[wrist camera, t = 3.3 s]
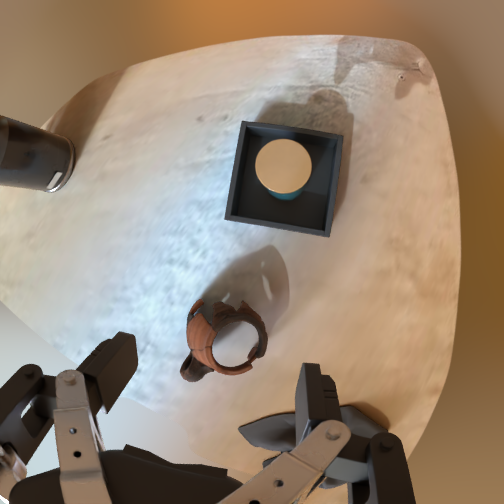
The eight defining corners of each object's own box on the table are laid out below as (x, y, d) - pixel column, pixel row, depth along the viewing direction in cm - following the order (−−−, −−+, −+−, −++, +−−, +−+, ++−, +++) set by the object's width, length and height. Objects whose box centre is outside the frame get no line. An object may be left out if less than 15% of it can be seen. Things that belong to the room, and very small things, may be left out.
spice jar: (256, 188, 34) (244, 174, 26) (278, 153, 33) (273, 129, 25) (293, 210, 34) (293, 203, 25) (315, 174, 33) (322, 156, 25)
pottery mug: (206, 274, 36) (227, 291, 29) (261, 311, 40) (291, 332, 33) (155, 350, 35) (163, 383, 27) (213, 379, 39) (232, 412, 31)
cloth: (396, 404, 34) (409, 428, 28) (362, 484, 35) (367, 509, 29) (240, 396, 37) (231, 421, 31) (234, 478, 38) (227, 503, 32)
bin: (231, 221, 35) (224, 219, 31) (247, 132, 34) (241, 120, 30) (325, 236, 34) (329, 237, 30) (338, 145, 33) (343, 135, 29)
